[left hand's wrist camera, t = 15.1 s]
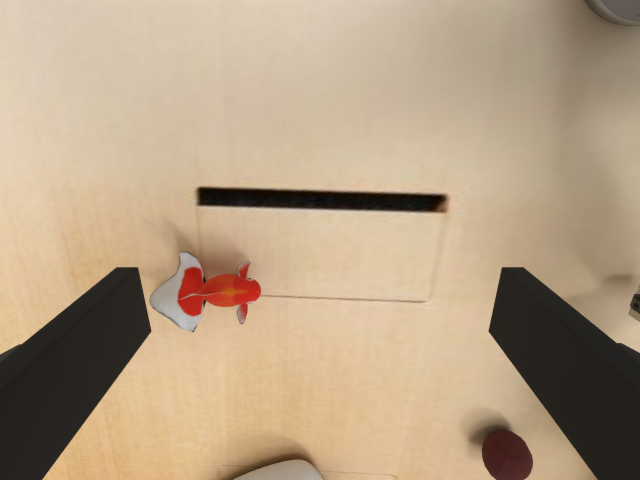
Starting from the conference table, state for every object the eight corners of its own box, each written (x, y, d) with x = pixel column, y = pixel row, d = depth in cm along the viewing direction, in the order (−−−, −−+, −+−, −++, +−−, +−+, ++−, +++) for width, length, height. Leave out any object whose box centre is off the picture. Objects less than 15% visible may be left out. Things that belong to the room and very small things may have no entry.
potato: (470, 451, 61) (488, 493, 55) (481, 418, 58) (501, 458, 52) (511, 454, 61) (534, 496, 55) (524, 421, 59) (550, 461, 52)
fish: (264, 346, 47) (217, 367, 38) (177, 310, 53) (118, 320, 44) (283, 270, 47) (241, 272, 38) (194, 241, 53) (137, 237, 43)
